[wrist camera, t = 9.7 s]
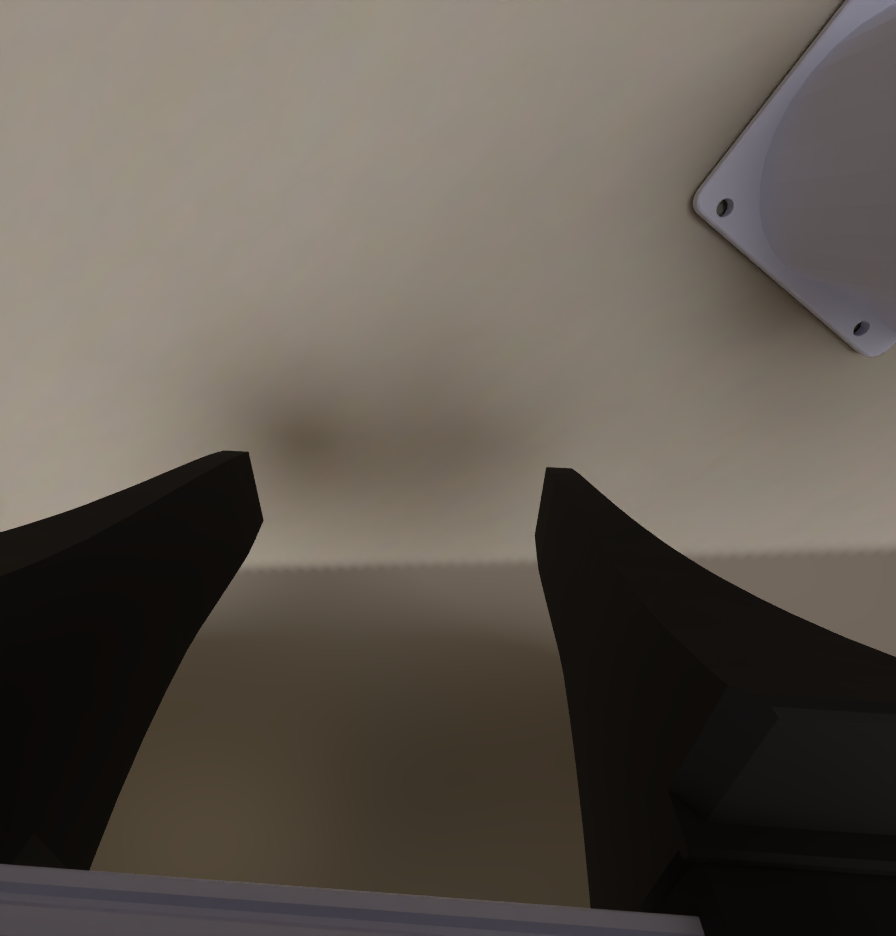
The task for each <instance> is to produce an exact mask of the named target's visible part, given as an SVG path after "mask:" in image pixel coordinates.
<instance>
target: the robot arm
mask: <svg viewBox="0 0 896 936" xmlns="http://www.w3.org/2000/svg"><path fill="white" fill-rule="evenodd" d="M723 199H724V200H726V202H727V203H728V206H727V210H726V212H725V213H724V214H723V215H722V216H721V217H719V216H718V214H717V213H716V211H717V206H718V204H719V202H721V201H722V200H723ZM693 207H694V210H695V212H696V213H697V214H698V215H699V216H700V217H701V218H703V219H704V220H705V221H706V222H707V223H708V224H709V225H711V226H712V227H713V228H714V229H715V230H716V231H718V232H719V233H720V234H721V235H722V236H723V237H725V238H726V239H727V240H728V241H729V242H730V243H732V244H733V245H734V246H735V247H736V248H737V249H738V250H740V251H741V252H742V253H743V254H744V255H745V256H747V257H748V258H749V259H750V260H751V261H752V262H754V263H755V264H756V265H757V266H758V267H759V268H760V269H762V270H763V271H764V272H765V273H766V274H767V275H769V276H770V277H771V278H772V279H773V280H774V281H776V282H777V283H778V284H779V285H780V286H781V287H783V288H784V289H785V290H786V291H787V292H788V293H789V294H791V295H792V296H793V297H794V298H795V299H796V300H798V301H799V302H800V303H801V304H802V305H803V306H805V307H806V308H807V309H808V310H809V311H810V312H811V313H813V314H814V315H815V316H816V317H817V318H818V319H820V320H821V321H822V322H823V323H824V324H825V325H827V326H828V327H829V328H830V329H831V330H832V331H834V332H835V333H836V334H837V335H838V336H839V337H840V338H842V339H843V340H844V341H845V342H846V343H847V344H849V345H850V346H851V347H852V348H853V349H854V350H856V351H857V352H858V353H860V354H862V355H864V356H867V357H876V356H878V355H881V354H882V353H884V352H885V351H887V350H888V349H889V348H890V347H891V346H892V345H894V344H895V343H896V0H845V1H844V3H843V4H842V5H841V6H840V8H839V9H838V10H837V12H836V13H835V14H834V15H833V17H832V18H831V19H830V21H829V22H828V23H827V24H826V26H825V27H824V28H823V29H822V31H821V32H820V33H819V35H818V36H817V37H816V38H815V40H814V41H813V42H812V44H811V45H810V46H809V47H808V49H807V50H806V51H805V53H804V54H803V55H802V56H801V58H800V59H799V60H798V62H797V63H796V64H795V65H794V67H793V68H792V69H791V71H790V72H789V73H788V74H787V76H786V77H785V78H784V80H783V81H782V82H781V83H780V85H779V86H778V87H777V88H776V90H775V91H774V92H773V94H772V95H771V96H770V97H769V99H768V100H767V101H766V103H765V104H764V105H763V106H762V108H761V109H760V110H759V112H758V113H757V114H756V115H755V117H754V118H753V119H752V121H751V122H750V123H749V124H748V126H747V127H746V128H745V130H744V131H743V132H742V133H741V135H740V136H739V137H738V138H737V140H736V141H735V142H734V144H733V145H732V146H731V147H730V149H729V150H728V151H727V153H726V154H725V155H724V156H723V158H722V159H721V160H720V162H719V163H718V164H717V165H716V167H715V168H714V169H713V171H712V172H711V173H710V174H709V176H708V177H707V178H706V180H705V181H704V182H703V183H702V185H701V186H700V187H699V189H698V190H697V192H696V194H695V195H694V199H693ZM860 322H861V327H860V328H859V329H858V331H856V332H854V333H853V330H854V328H855V326H856V325H857V324H858V323H860ZM262 523H263V516H262V512H261V507H260V502H259V498H258V493H257V489H256V484H255V480H254V475H253V470H252V466H251V461H250V457H249V452H242V451H220V452H217V453H214V454H210V455H208V456H205V457H202V458H200V459H197V460H195V461H192V462H190V463H187V464H185V465H182V466H180V467H178V468H175V469H173V470H170V471H168V472H166V473H163V474H161V475H159V476H156V477H154V478H151V479H149V480H147V481H144V482H142V483H140V484H137V485H135V486H132V487H130V488H127V489H125V490H122V491H119V492H117V493H114V494H112V495H109V496H107V497H104V498H102V499H99V500H96V501H94V502H91V503H89V504H86V505H83V506H81V507H78V508H75V509H72V510H70V511H67V512H64V513H61V514H58V515H55V516H52V517H49V518H46V519H42V520H39V521H36V522H33V523H30V524H27V525H24V526H20V527H17V528H14V529H10V530H7V531H3V532H0V936H896V657H894V656H891V655H889V654H887V653H884V652H881V651H879V650H876V649H873V648H871V647H869V646H866V645H863V644H861V643H858V642H856V641H853V640H850V639H848V638H845V637H843V636H841V635H838V634H836V633H834V632H831V631H829V630H827V629H825V628H822V627H820V626H818V625H816V624H813V623H811V622H809V621H807V620H804V619H802V618H800V617H798V616H795V615H793V614H791V613H789V612H787V611H785V610H783V609H781V608H778V607H776V606H774V605H772V604H770V603H768V602H766V601H764V600H762V599H760V598H758V597H756V596H754V595H752V594H751V593H749V592H747V591H745V590H743V589H741V588H739V587H737V586H735V585H734V584H732V583H730V582H728V581H726V580H724V579H722V578H721V577H719V576H717V575H715V574H713V573H712V572H710V571H708V570H706V569H705V568H703V567H702V566H700V565H698V564H697V563H695V562H694V561H692V560H690V559H689V558H687V557H686V556H684V555H682V554H681V553H679V552H678V551H676V550H675V549H673V548H672V547H670V546H669V545H667V544H666V543H664V542H663V541H661V540H660V539H659V538H657V537H656V536H654V535H653V534H652V533H650V532H649V531H648V530H646V529H645V528H644V527H642V526H641V525H640V524H638V523H637V522H636V521H634V520H633V519H632V518H631V517H629V516H628V515H627V514H626V513H624V512H623V511H622V510H621V509H619V508H618V507H617V506H616V505H615V504H613V503H612V502H611V501H610V500H609V499H608V498H606V497H605V496H604V495H603V494H602V493H601V492H599V491H598V490H597V489H596V488H595V487H594V486H593V485H591V484H590V483H589V482H588V481H587V480H586V479H585V478H583V477H582V476H581V475H580V474H579V473H577V472H576V471H575V470H573V469H571V468H552V467H546V472H545V478H544V484H543V490H542V496H541V502H540V508H539V514H538V520H537V526H536V532H535V542H536V552H537V560H538V569H539V574H540V578H541V582H542V586H543V591H544V594H545V599H546V602H547V607H548V611H549V614H550V619H551V622H552V626H553V631H554V634H555V638H556V642H557V646H558V650H559V654H560V659H561V664H562V669H563V674H564V680H565V688H566V694H567V701H568V709H569V715H570V723H571V731H572V738H573V745H574V754H575V762H576V770H577V779H578V787H579V796H580V805H581V814H582V823H583V833H584V843H585V853H586V862H587V863H586V864H587V875H588V885H589V894H590V907H591V908H578V907H564V906H551V905H538V904H525V903H512V902H511V903H510V902H498V901H485V900H472V899H458V898H445V897H431V896H418V895H406V894H390V893H379V892H365V891H352V890H338V889H326V888H313V887H312V888H311V887H298V886H286V885H273V884H260V883H259V884H258V883H246V882H233V881H220V880H206V879H193V878H180V877H165V876H153V875H140V874H126V873H113V872H100V871H89V870H90V867H91V864H92V862H93V859H94V856H95V854H96V851H97V849H98V846H99V844H100V841H101V839H102V836H103V834H104V831H105V829H106V826H107V824H108V821H109V818H110V816H111V813H112V811H113V808H114V806H115V803H116V801H117V798H118V796H119V794H120V791H121V789H122V786H123V784H124V782H125V780H126V777H127V775H128V773H129V771H130V768H131V766H132V764H133V761H134V759H135V757H136V754H137V752H138V750H139V748H140V745H141V743H142V741H143V738H144V736H145V734H146V732H147V730H148V728H149V726H150V723H151V721H152V719H153V717H154V715H155V713H156V711H157V709H158V707H159V705H160V703H161V701H162V698H163V696H164V694H165V692H166V690H167V688H168V686H169V684H170V682H171V680H172V679H173V676H174V675H175V673H176V671H177V669H178V667H179V665H180V663H181V661H182V659H183V657H184V655H185V653H186V651H187V649H188V648H189V646H190V644H191V643H192V641H193V639H194V638H195V636H196V634H197V633H198V631H199V629H200V628H201V626H202V625H203V623H204V622H205V620H206V619H207V617H208V616H209V614H210V613H211V611H212V610H213V608H214V607H215V605H216V604H217V602H218V601H219V599H220V597H221V596H222V594H223V593H224V591H225V590H226V588H227V587H228V585H229V584H230V582H231V581H232V579H233V578H234V576H235V574H236V573H237V571H238V570H239V568H240V567H241V565H242V563H243V562H244V560H245V559H246V557H247V555H248V554H249V552H250V549H251V547H252V545H253V543H254V541H255V539H256V537H257V534H258V532H259V530H260V527H261V525H262Z"/></svg>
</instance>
